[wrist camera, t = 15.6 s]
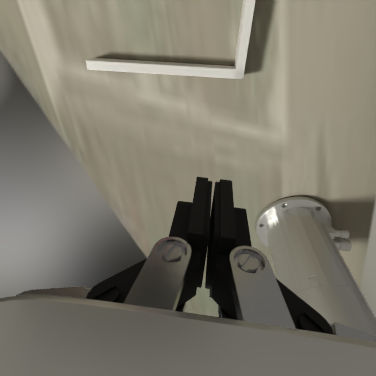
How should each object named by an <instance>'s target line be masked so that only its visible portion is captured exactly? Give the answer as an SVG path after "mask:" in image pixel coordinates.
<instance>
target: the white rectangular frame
mask: <svg viewBox="0 0 376 376" xmlns="http://www.w3.org/2000/svg"><path fill="white" fill-rule="evenodd" d="M254 6H255V0H243V6H242V13H241V21H240V28H239V35H238V43H237V50H236V58H235V65H234V66H223V65H206V64H189V63H172V62H155V61H138V60H121V59H104V58H92V59H89V60H86V64H87V70H103V71H120V72H136V73H152V74H169V75H185V76H201V77H218V78H234V79H243V76H244V70H245V63H246V57H247V51H248V44H249V38H250V32H251V25H252V19H253V13H254Z"/></svg>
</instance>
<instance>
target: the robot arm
mask: <svg viewBox="0 0 376 376" xmlns="http://www.w3.org/2000/svg"><path fill="white" fill-rule="evenodd" d="M211 193H212V181H208V178H203V177H197V180H196V186H195V192H194V198H193V203H191V202H183V201H178V203H177V207H176V211H175V215H174V218H173V222H172V226H171V230H170V234H169V237H166V238H163V239H161V240H159V241H158V242H157V243H156V244H155V245H154V247H153V249H152V250H151V252H150V254H149V256H148V258H147V259H145V260H143V261H141V262H139V263H137V264H135V265H133V266H131V267H130V268H127V269H125V270H124V271H122V272H120V273H118V274H116V275H114V276H112V277H110V278H108V279H106V280H104V281H102V282H100V283H99V284H97V285H96V286H94V287H93V288H92V289H86V287H85V286H78V287H64V288H50V289H36V290H29V291H24V292H22V293H20V294H18V295H16V296H11V297H5V298H0V376H376V317H375V316H374V314H373V312H372V310H371V309H370V307H369V305H368V303H367V301H366V299H365V298H364V296H363V294H362V292H361V290H360V289H359V287H358V285H357V283H356V281H355V279H354V278H353V276H352V274H351V272H350V270H349V269H348V267H347V265H346V263H345V261H344V260H343V258H342V256H341V254H340V252H339V250H343V251H350V250H351V247H352V246H351V242H350V240H345V239H334V237H339V238H349V231H348V230H335V229H334V228H332V226H331V221H332V220H331V216H330V213H329V212H328V210H327V209H326V207H325V206H324V205H323V204H322V203H320V202H319V201H317V200H315V199H312V198H308V197H289V198H284V199H281V200H278V201H276V202H274V203H272V204H270V205H269V206H268V207H266V208H265V209H264V210H263V211H262V212H261V214H260V215H259V217H258V219H257V222H256V232H257V235H258V238H259V239H260V241H261V242H262V243H263V244H264V245H265V246H267V247H268V248H270V252H271V256H272V260H273V264H274V268H275V272H276V276H277V279H276V278H275V275H274V273H273V270H272V268H271V265H270V263H269V260H268V259H267V257H266V256H265V255H264V254H263V253H262V252H261V251H259V250H258V249H256V248H253V247H251V240H250V233H249V227H248V220H247V213H246V209H242V208H234V203H233V190H232V181H230V180H221V179H220V182H215V189H214V196H213V202H212V209H211ZM210 211H211V216H210ZM207 246H208V250H207ZM206 253H207V266H206V283H205V288H207V289H210V297H212V298H213V300H214V301H215V302H216V303H217V304H218V314H219V317H213V316H206V315H199V314H192V313H186V312H184V311H185V308H186V302H187V301H188V300H190V299H191V298H192V297H194V296H195V295H196V289H197V287H200V288H201V286H202V280H203V273H204V266H205V260H206Z"/></svg>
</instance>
